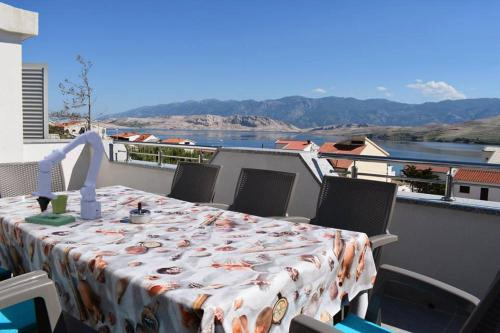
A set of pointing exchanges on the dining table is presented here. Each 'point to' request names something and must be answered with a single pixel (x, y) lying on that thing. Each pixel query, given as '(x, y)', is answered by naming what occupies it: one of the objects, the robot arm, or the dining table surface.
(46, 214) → the ball
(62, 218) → the putting mat
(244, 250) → the dining table surface
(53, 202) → the plant pot
